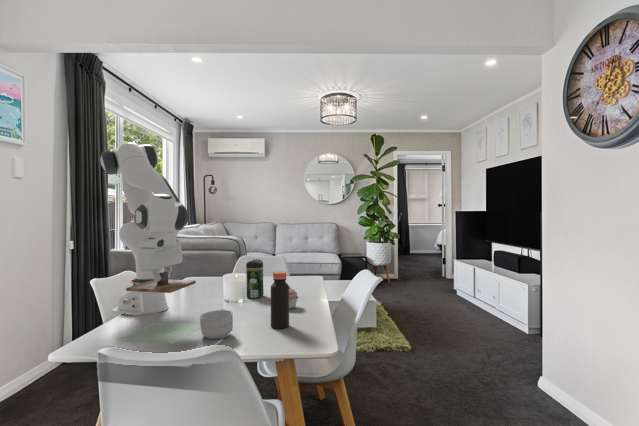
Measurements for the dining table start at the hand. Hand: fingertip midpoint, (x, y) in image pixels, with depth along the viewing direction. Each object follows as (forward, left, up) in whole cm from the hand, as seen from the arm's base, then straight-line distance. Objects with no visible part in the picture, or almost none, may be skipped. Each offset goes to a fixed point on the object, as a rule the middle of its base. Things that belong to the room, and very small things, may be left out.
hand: (162, 280), depth 127 cm
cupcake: (+34, +41, -19) cm, 57 cm away
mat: (0, 0, -19) cm, 19 cm away
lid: (0, 0, -2) cm, 2 cm away
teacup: (+20, +2, -19) cm, 28 cm away
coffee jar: (+12, +58, -19) cm, 62 cm away
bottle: (+38, +15, -19) cm, 45 cm away
